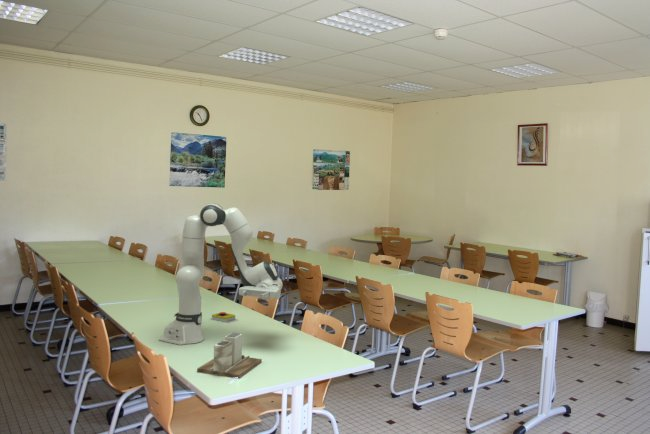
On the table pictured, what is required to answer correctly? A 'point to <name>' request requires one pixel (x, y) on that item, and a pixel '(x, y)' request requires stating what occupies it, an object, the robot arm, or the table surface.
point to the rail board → (234, 371)
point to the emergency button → (224, 317)
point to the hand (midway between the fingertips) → (252, 295)
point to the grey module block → (235, 346)
